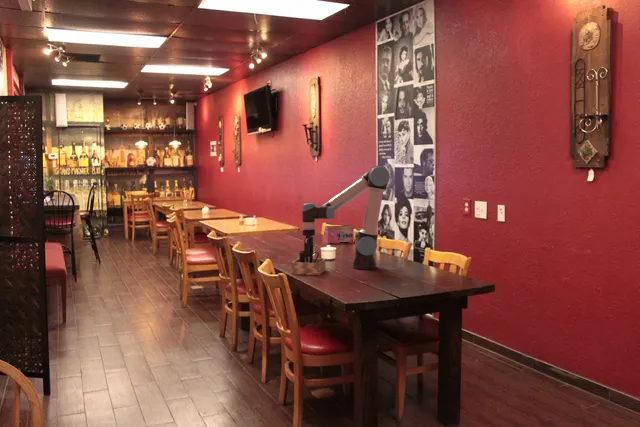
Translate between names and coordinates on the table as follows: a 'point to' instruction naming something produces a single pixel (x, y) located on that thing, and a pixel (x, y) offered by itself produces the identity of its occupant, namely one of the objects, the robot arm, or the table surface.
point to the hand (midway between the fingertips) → (309, 265)
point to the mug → (302, 258)
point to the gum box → (339, 234)
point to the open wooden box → (309, 267)
